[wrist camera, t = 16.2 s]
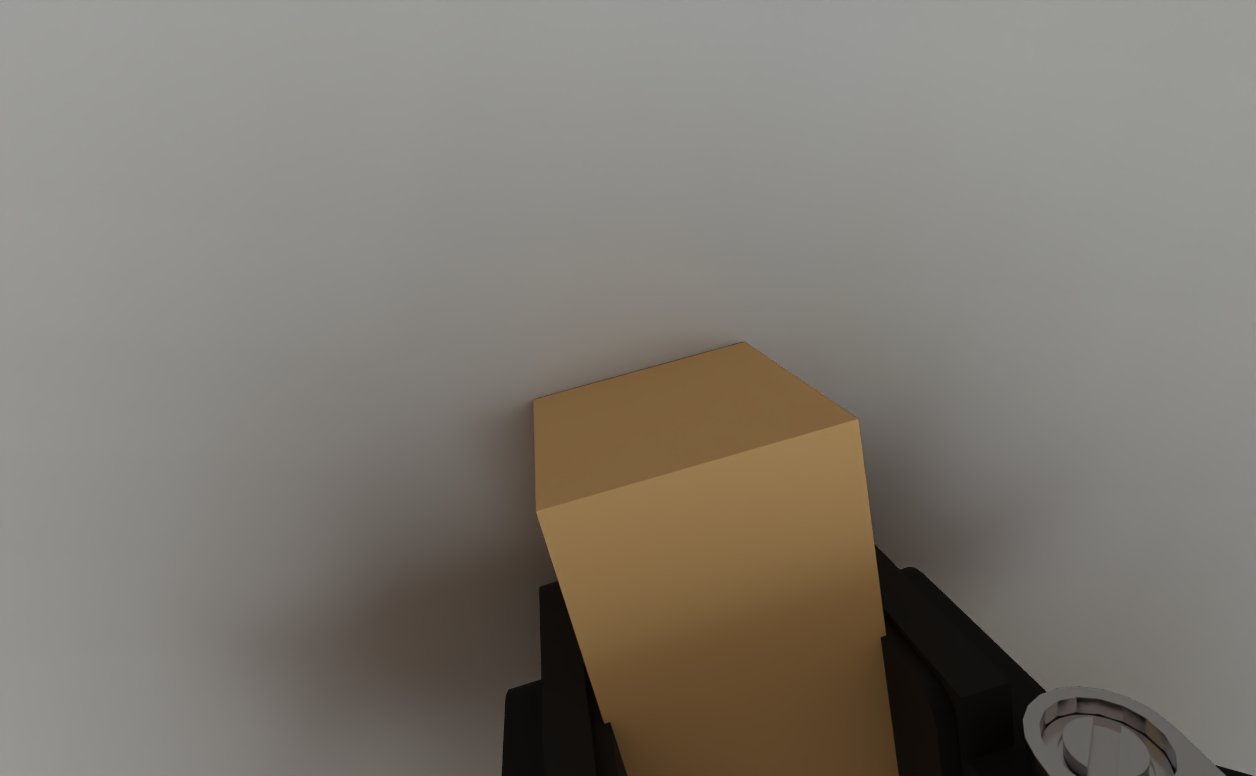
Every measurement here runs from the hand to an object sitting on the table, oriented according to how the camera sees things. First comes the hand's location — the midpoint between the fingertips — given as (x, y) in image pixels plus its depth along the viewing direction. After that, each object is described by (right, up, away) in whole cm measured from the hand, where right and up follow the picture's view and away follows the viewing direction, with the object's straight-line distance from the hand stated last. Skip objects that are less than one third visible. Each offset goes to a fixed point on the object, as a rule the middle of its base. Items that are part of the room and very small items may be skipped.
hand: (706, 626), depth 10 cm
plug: (+1, -6, +3) cm, 7 cm away
